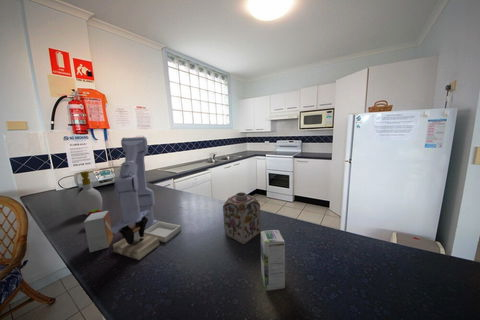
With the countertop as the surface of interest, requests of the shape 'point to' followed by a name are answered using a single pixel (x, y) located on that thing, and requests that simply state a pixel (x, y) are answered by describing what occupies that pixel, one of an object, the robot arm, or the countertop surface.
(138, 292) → the countertop surface
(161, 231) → the tray
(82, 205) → the soap bottle
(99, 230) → the small box
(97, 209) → the strawberry
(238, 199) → the decorative jar
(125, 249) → the hitch block
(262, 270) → the syrup box
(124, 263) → the countertop surface
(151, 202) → the robot arm
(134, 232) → the pin
